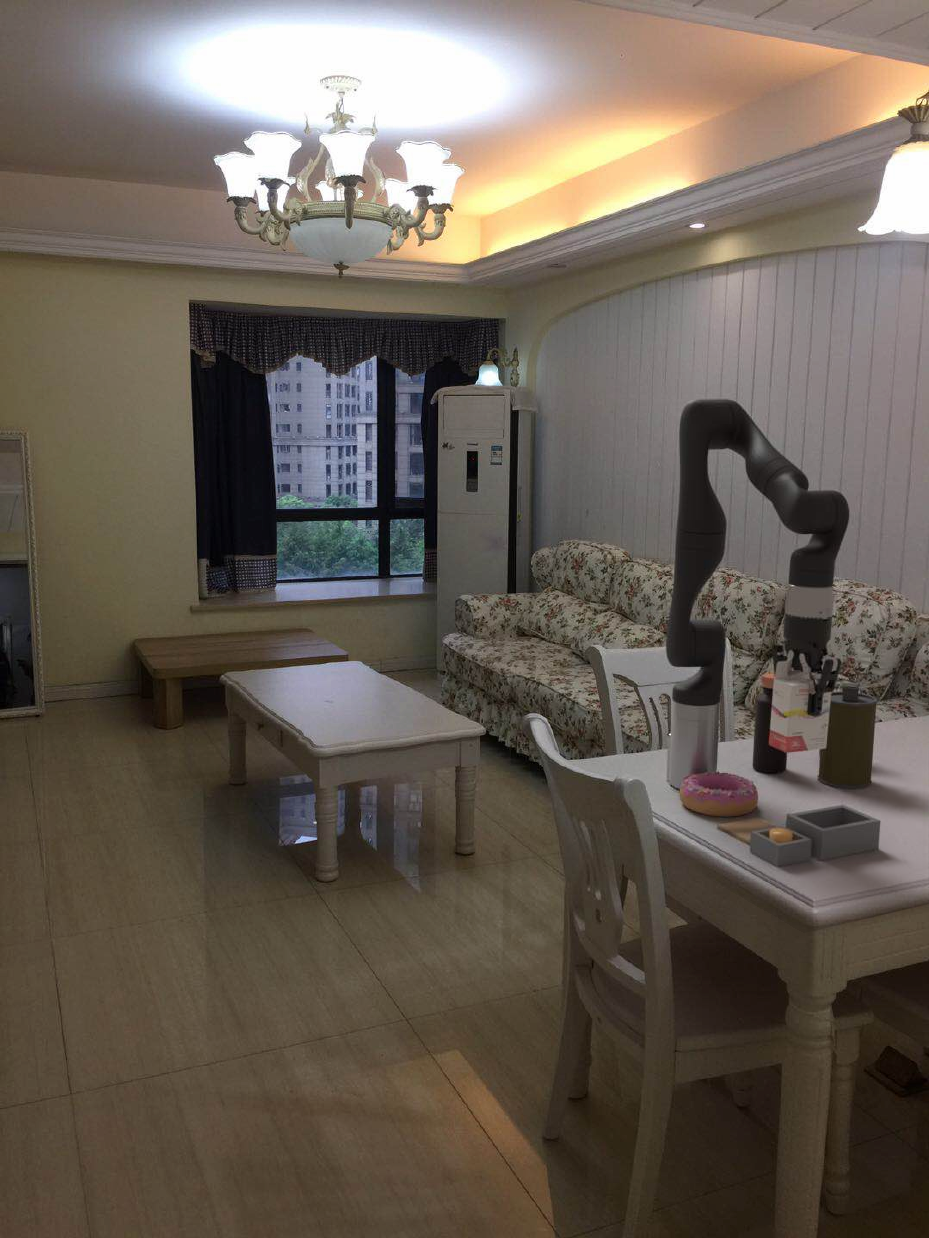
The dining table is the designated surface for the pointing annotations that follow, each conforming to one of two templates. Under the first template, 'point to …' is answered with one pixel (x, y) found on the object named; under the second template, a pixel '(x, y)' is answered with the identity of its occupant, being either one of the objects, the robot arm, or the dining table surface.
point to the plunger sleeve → (780, 847)
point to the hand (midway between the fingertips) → (801, 710)
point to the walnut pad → (744, 828)
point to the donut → (718, 794)
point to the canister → (849, 740)
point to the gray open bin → (836, 831)
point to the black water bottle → (766, 733)
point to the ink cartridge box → (796, 714)
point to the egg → (780, 835)
